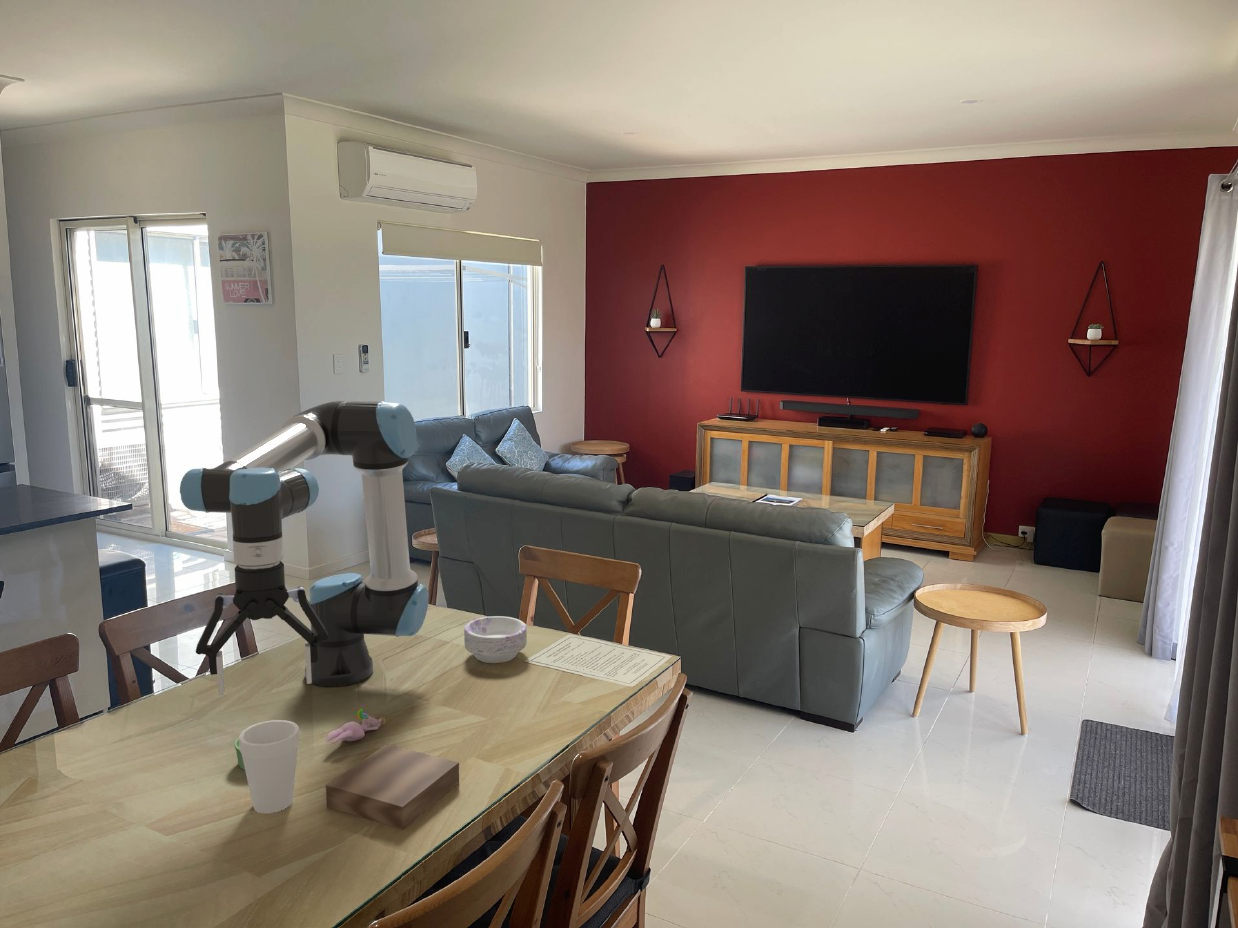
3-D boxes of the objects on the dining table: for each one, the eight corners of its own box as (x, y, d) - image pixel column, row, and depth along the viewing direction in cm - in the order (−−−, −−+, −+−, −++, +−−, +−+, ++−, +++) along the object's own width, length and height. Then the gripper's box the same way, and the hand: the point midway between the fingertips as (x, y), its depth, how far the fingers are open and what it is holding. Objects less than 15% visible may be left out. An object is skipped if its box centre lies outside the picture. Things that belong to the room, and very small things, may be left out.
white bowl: (523, 668, 209) (522, 637, 208) (459, 668, 210) (458, 636, 208) (530, 645, 224) (530, 615, 223) (470, 644, 225) (470, 614, 223)
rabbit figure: (366, 727, 182) (316, 748, 168) (368, 698, 182) (318, 717, 168) (391, 733, 180) (342, 754, 166) (393, 704, 180) (344, 723, 166)
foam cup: (282, 821, 145) (277, 748, 143) (232, 814, 147) (227, 742, 145) (312, 791, 155) (309, 722, 152) (265, 785, 156) (261, 717, 154)
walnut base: (326, 806, 150) (325, 784, 149) (387, 763, 164) (386, 743, 164) (403, 829, 144) (402, 806, 143) (459, 782, 158) (458, 762, 157)
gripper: (171, 576, 136) (181, 705, 139) (340, 562, 145) (345, 684, 148) (176, 563, 143) (185, 687, 146) (337, 551, 152) (342, 668, 155)
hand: (266, 686), depth 147 cm, fingers open, 13 cm apart
